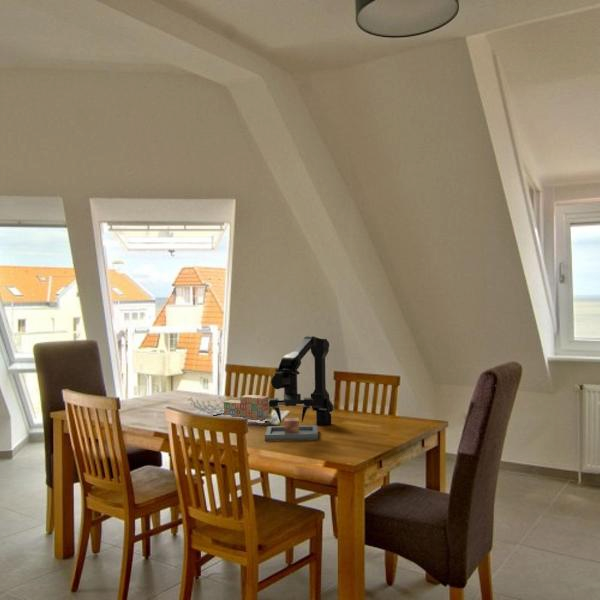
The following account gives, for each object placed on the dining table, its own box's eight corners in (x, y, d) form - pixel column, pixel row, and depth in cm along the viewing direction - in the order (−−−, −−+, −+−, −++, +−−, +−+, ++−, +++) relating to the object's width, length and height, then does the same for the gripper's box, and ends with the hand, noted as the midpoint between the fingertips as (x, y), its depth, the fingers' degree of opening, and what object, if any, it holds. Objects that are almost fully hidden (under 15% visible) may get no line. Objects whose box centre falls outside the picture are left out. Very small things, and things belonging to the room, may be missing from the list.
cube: (284, 435, 252) (284, 421, 252) (285, 432, 258) (284, 418, 258) (298, 435, 252) (298, 420, 252) (298, 431, 258) (298, 418, 258)
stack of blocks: (224, 421, 288) (223, 395, 288) (230, 418, 294) (229, 393, 294) (263, 424, 280) (262, 397, 280) (269, 421, 286) (268, 395, 285)
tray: (264, 441, 247) (264, 435, 247) (267, 432, 263) (267, 426, 263) (317, 439, 247) (317, 433, 247) (317, 431, 263) (317, 425, 263)
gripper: (267, 389, 246) (268, 426, 247) (312, 388, 246) (313, 426, 246) (269, 385, 258) (270, 421, 258) (312, 384, 257) (313, 420, 257)
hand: (291, 422), depth 255 cm, fingers open, 9 cm apart
